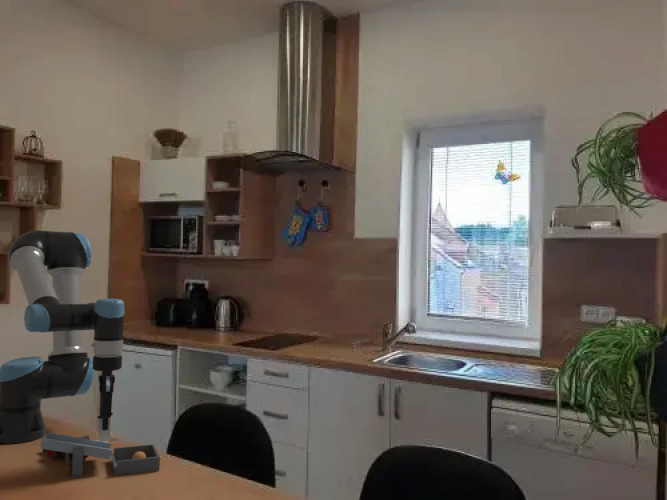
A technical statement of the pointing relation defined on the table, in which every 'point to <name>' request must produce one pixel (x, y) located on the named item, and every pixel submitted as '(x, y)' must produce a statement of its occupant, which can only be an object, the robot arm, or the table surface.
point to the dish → (135, 460)
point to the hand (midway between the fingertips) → (104, 440)
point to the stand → (77, 463)
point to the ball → (139, 455)
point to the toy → (64, 453)
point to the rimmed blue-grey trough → (76, 445)
